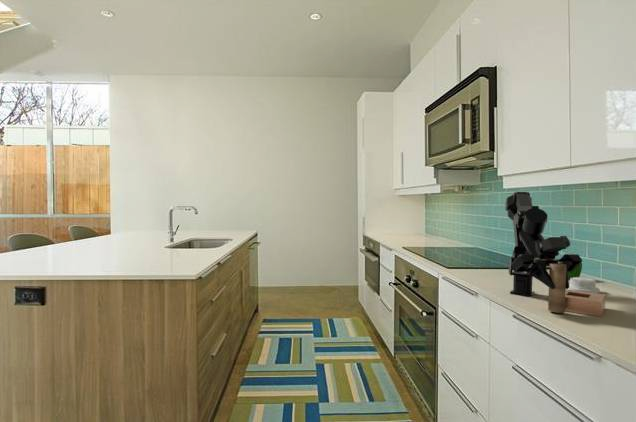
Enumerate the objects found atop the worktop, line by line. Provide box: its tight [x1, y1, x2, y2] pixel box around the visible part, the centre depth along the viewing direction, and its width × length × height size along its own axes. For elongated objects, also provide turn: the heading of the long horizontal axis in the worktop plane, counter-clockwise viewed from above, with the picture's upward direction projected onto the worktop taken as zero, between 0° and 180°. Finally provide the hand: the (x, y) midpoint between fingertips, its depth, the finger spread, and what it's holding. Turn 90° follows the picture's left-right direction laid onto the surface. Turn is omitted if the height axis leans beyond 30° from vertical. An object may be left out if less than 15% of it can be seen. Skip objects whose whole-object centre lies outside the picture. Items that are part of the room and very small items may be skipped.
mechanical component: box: [566, 276, 601, 294], centre depth 143 cm, size 10×4×10 cm
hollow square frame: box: [565, 289, 606, 318], centre depth 118 cm, size 12×12×4 cm
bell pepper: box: [568, 261, 583, 280], centre depth 166 cm, size 8×8×10 cm
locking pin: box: [547, 263, 567, 314], centre depth 113 cm, size 4×4×13 cm
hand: (560, 288), depth 112 cm, fingers closed on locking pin, 4 cm apart
